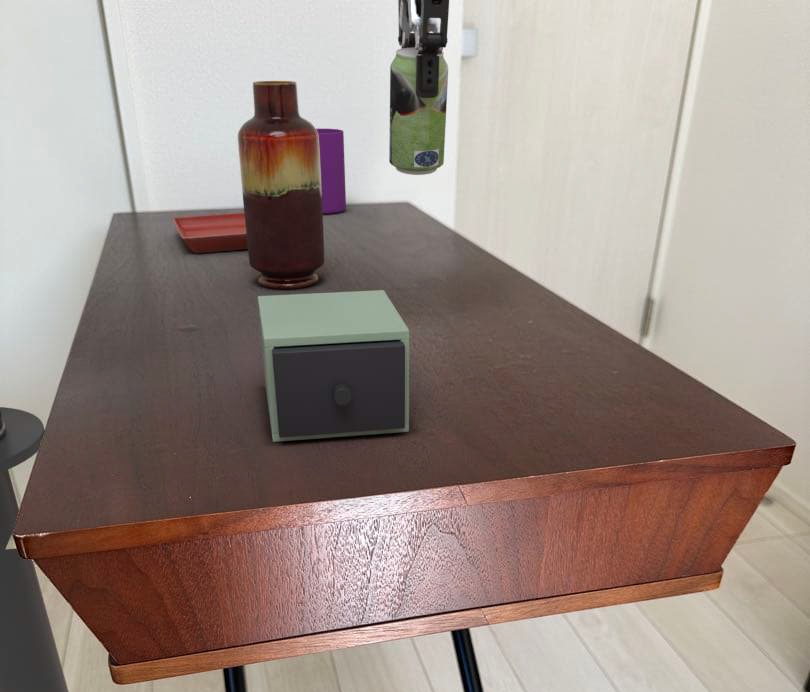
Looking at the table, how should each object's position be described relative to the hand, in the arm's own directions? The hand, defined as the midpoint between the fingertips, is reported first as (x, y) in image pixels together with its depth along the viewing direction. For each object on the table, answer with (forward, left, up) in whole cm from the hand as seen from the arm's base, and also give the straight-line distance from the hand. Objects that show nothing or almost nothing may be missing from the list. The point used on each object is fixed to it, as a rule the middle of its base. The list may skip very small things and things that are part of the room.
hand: (420, 94), depth 88 cm
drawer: (-13, -23, -25) cm, 36 cm away
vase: (-14, +30, -26) cm, 42 cm away
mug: (-6, +86, -26) cm, 90 cm away
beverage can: (0, +1, -8) cm, 8 cm away
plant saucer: (-22, +59, -26) cm, 68 cm away
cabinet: (-13, -20, -26) cm, 35 cm away
